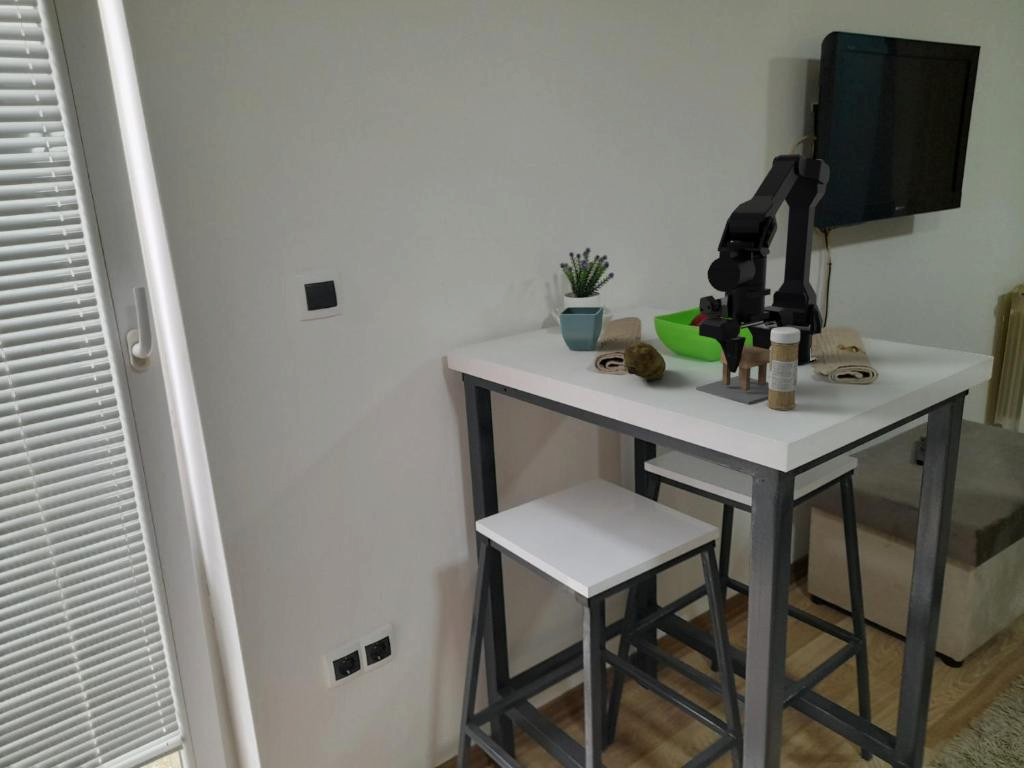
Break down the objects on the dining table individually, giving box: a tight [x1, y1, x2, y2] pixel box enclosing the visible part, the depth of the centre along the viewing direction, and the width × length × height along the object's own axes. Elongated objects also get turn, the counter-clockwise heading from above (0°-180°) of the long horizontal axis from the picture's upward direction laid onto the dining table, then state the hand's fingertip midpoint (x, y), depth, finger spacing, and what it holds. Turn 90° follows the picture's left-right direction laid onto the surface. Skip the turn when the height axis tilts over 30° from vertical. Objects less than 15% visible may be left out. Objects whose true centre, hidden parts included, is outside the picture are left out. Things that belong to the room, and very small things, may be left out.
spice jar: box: [766, 327, 800, 411], centre depth 123 cm, size 5×5×13 cm
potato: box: [623, 341, 667, 381], centre depth 143 cm, size 8×13×8 cm, turn 136°
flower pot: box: [558, 306, 604, 351], centre depth 170 cm, size 9×9×9 cm
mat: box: [695, 375, 769, 405], centre depth 135 cm, size 12×12×1 cm
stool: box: [720, 343, 771, 391], centre depth 134 cm, size 6×6×7 cm
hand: (744, 369), depth 134 cm, fingers closed on stool, 6 cm apart
